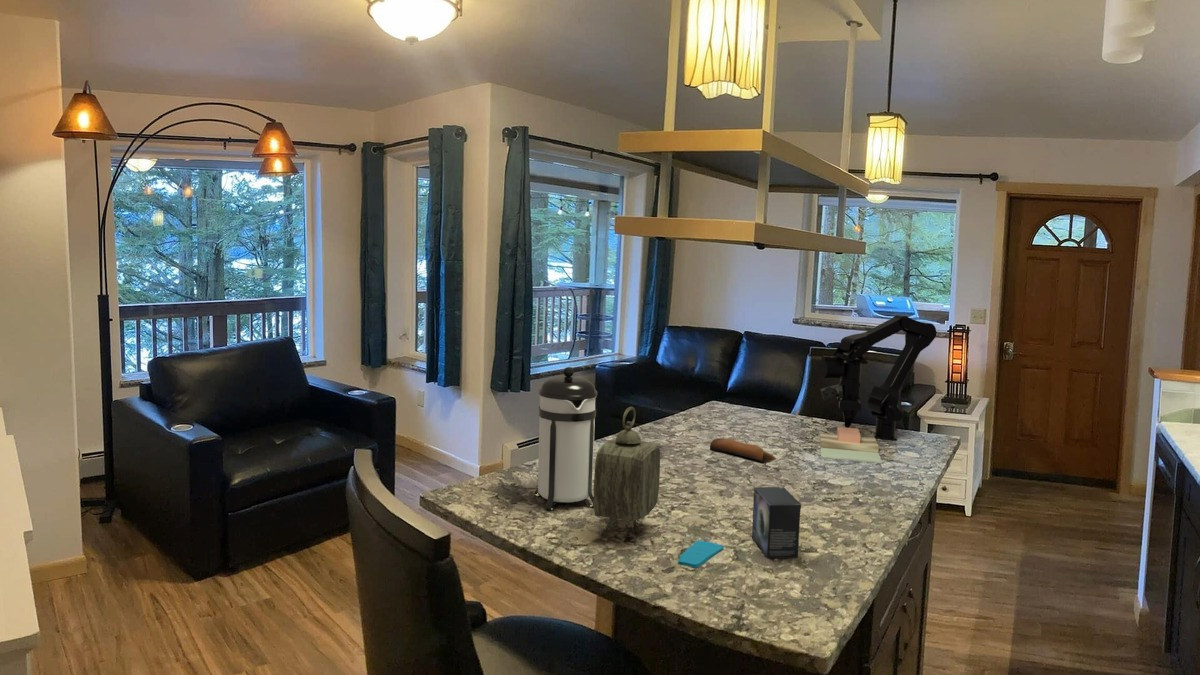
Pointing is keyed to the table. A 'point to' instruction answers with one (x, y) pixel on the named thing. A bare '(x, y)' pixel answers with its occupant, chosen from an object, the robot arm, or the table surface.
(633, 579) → the table surface
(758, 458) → the sunglasses case
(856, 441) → the coral tile
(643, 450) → the tabletop clock
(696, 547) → the sponge
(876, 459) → the sage mat
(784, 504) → the small box
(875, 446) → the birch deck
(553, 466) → the coffee press
